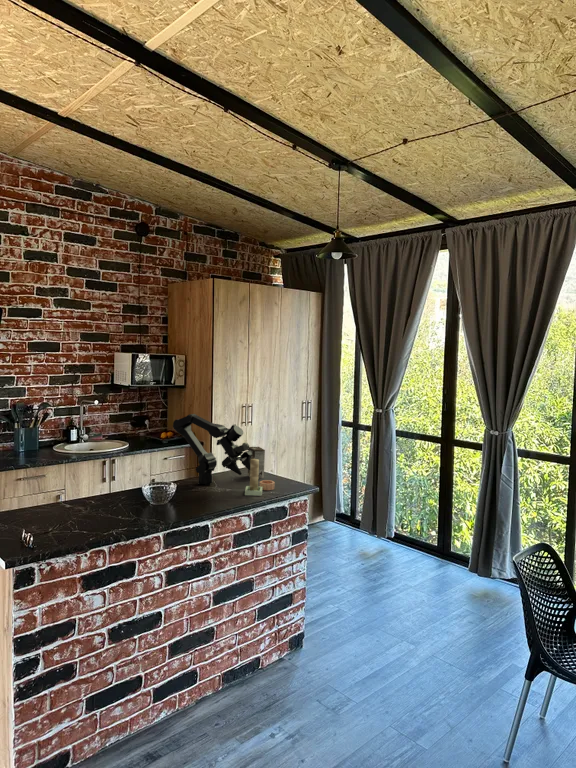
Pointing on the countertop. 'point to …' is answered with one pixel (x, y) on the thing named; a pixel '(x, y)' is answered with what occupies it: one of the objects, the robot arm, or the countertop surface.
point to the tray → (253, 491)
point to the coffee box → (260, 455)
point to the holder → (267, 484)
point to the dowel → (254, 474)
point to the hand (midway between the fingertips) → (246, 472)
